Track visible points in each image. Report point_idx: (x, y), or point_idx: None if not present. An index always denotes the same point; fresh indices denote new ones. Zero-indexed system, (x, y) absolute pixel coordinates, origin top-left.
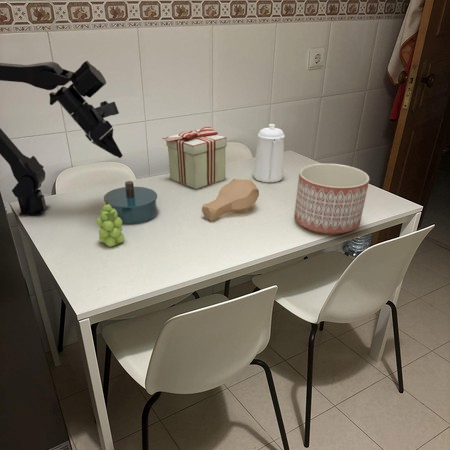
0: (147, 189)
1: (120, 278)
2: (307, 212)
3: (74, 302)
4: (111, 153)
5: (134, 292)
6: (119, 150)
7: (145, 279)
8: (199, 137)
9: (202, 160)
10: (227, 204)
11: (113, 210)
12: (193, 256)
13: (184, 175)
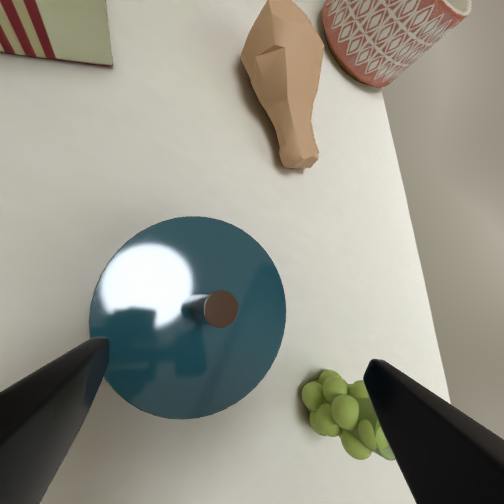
0: (170, 229)
1: None
2: (397, 65)
3: None
4: (86, 415)
5: (442, 383)
6: (430, 394)
7: (422, 359)
8: None
9: None
10: (311, 114)
11: None
12: (388, 265)
13: (35, 22)
